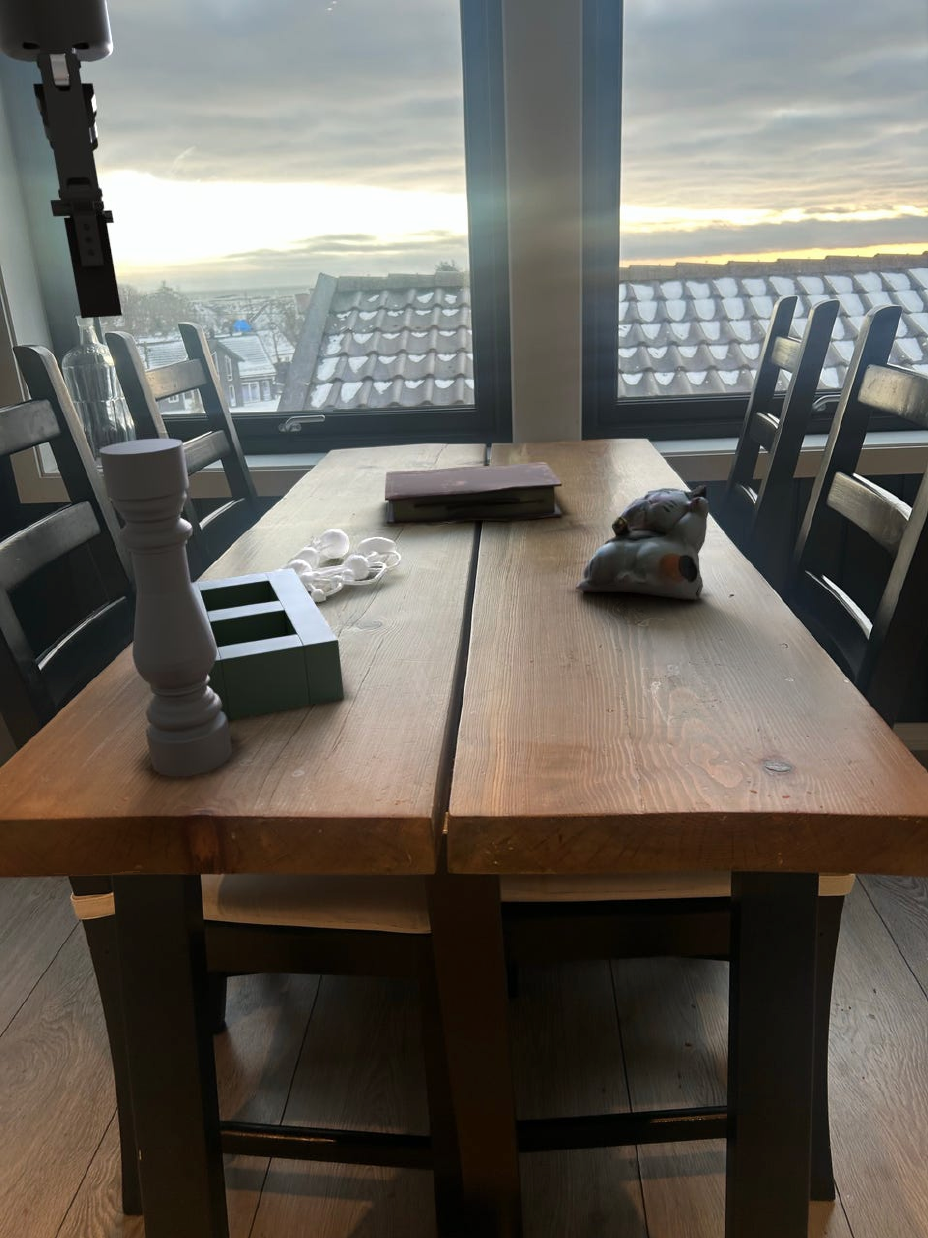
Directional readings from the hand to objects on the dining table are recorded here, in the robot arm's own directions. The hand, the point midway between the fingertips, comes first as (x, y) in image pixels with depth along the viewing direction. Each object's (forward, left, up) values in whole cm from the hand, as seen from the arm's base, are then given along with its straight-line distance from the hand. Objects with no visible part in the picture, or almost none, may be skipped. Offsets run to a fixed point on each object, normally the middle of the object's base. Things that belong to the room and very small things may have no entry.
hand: (102, 313), depth 76 cm
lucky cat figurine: (+51, +8, -34) cm, 62 cm away
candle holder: (+1, -11, -34) cm, 35 cm away
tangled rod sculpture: (+21, +29, -34) cm, 49 cm away
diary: (+47, +54, -34) cm, 79 cm away
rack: (+8, +6, -34) cm, 35 cm away
